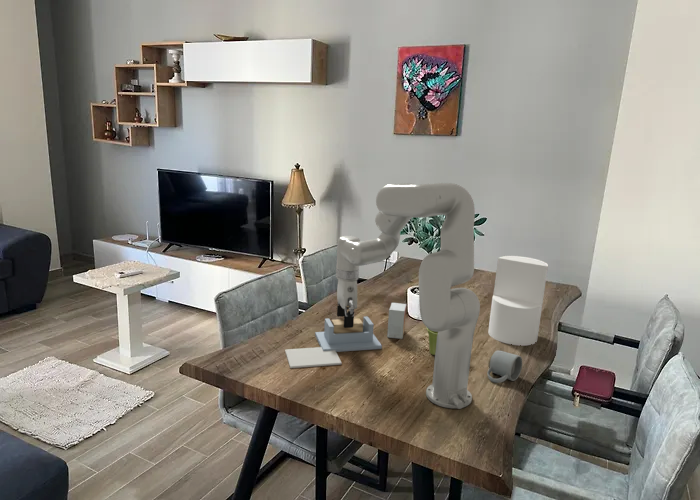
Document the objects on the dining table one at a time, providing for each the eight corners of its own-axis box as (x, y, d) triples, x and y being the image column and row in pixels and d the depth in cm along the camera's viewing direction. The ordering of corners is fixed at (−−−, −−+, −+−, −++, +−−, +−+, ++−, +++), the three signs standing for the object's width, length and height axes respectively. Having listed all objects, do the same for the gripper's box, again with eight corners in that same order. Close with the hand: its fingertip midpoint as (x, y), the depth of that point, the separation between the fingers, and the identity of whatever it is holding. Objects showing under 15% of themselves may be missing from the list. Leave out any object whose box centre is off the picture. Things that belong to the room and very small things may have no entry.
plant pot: (431, 360, 165) (433, 335, 163) (420, 348, 174) (422, 324, 172) (457, 358, 168) (460, 333, 166) (445, 346, 177) (447, 322, 175)
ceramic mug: (497, 366, 163) (499, 344, 161) (521, 376, 158) (524, 353, 156) (480, 378, 156) (482, 355, 154) (505, 388, 150) (508, 364, 148)
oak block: (359, 327, 178) (359, 318, 178) (362, 332, 174) (363, 323, 173) (330, 329, 176) (331, 319, 175) (333, 334, 172) (334, 324, 171)
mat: (341, 364, 160) (341, 362, 159) (290, 368, 156) (290, 366, 155) (333, 347, 171) (333, 346, 171) (285, 351, 167) (285, 349, 167)
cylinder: (495, 322, 200) (504, 253, 193) (541, 333, 192) (552, 261, 185) (482, 337, 185) (491, 262, 179) (531, 349, 177) (542, 272, 170)
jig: (369, 332, 185) (370, 312, 183) (381, 348, 172) (383, 327, 170) (315, 335, 180) (315, 315, 178) (323, 352, 167) (323, 331, 165)
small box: (402, 339, 180) (404, 311, 178) (386, 337, 181) (388, 309, 179) (404, 330, 188) (407, 303, 185) (389, 329, 189) (391, 302, 186)
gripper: (365, 281, 163) (362, 331, 167) (351, 265, 179) (349, 311, 183) (342, 281, 161) (339, 332, 165) (330, 266, 177) (328, 312, 181)
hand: (344, 321), depth 174 cm, fingers open, 9 cm apart
